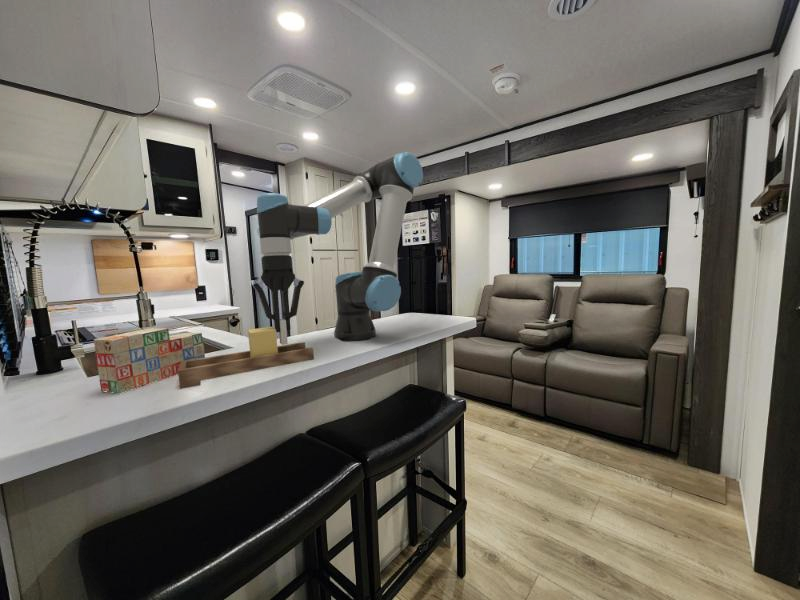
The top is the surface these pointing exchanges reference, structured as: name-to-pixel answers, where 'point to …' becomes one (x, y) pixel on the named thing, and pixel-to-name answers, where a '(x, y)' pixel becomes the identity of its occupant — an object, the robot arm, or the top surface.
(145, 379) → the stack of blocks
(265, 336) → the block
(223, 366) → the chute
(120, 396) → the top surface
